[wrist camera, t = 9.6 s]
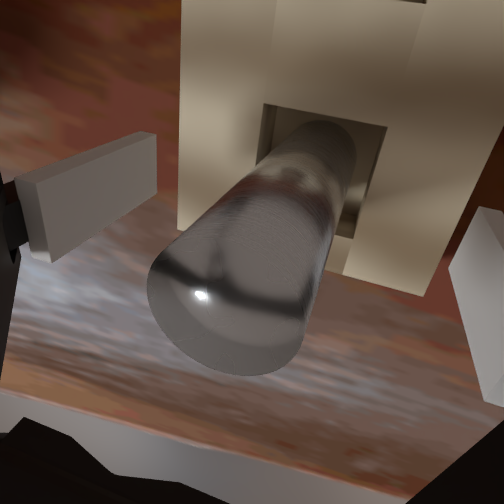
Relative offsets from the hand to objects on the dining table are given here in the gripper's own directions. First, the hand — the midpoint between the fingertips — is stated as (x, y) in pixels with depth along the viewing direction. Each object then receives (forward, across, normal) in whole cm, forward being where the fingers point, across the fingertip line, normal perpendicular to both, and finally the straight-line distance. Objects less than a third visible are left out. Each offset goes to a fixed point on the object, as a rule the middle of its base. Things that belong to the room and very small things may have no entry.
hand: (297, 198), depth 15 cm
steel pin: (+6, 0, 0) cm, 6 cm away
